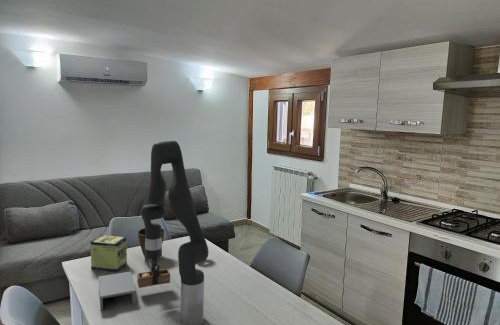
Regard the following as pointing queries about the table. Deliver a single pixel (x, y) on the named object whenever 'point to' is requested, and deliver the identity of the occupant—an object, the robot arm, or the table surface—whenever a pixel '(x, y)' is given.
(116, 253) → the protein box
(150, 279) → the tray
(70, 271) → the table surface
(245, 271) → the table surface
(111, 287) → the counter shelf
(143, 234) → the plant pot
